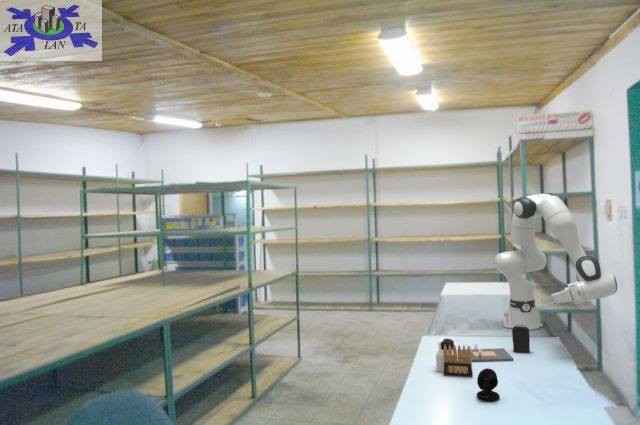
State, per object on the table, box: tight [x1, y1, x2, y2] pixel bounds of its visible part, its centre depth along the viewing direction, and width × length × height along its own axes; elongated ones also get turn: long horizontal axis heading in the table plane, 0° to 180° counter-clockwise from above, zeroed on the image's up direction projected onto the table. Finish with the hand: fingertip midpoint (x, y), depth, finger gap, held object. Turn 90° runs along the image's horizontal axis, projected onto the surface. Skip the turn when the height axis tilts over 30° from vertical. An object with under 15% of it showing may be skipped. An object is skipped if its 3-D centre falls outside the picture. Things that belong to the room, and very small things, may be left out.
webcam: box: [476, 368, 500, 403], centre depth 172 cm, size 8×8×10 cm
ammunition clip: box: [443, 344, 474, 378], centre depth 195 cm, size 11×2×12 cm, turn 70°
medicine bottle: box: [435, 338, 458, 373], centre depth 202 cm, size 7×7×12 cm
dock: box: [456, 343, 514, 363], centre depth 215 cm, size 14×20×4 cm
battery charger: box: [511, 325, 531, 354], centre depth 219 cm, size 7×4×11 cm, turn 67°
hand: (541, 301), depth 217 cm, fingers open, 8 cm apart
